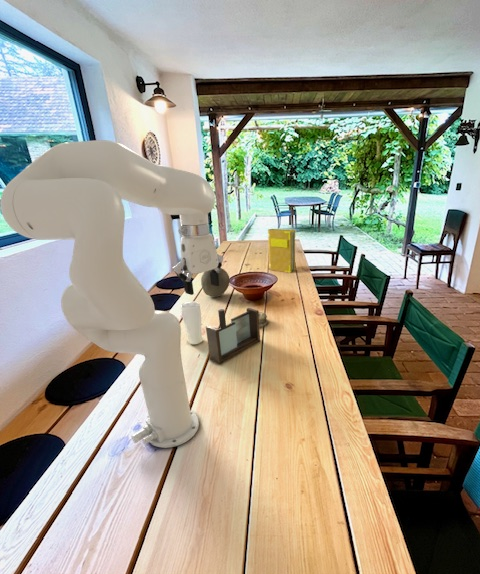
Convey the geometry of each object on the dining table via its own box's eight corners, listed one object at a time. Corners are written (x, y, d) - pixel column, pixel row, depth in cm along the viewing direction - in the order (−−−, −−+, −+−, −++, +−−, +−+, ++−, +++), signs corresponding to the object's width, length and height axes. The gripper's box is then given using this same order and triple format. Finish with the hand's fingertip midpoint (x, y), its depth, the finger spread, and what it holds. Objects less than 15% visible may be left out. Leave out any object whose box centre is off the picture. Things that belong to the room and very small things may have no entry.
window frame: (219, 364, 106) (215, 330, 101) (209, 359, 109) (205, 326, 104) (260, 341, 120) (258, 310, 115) (250, 337, 123) (248, 307, 118)
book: (295, 270, 205) (295, 229, 195) (290, 272, 200) (290, 231, 190) (272, 267, 214) (271, 228, 203) (267, 269, 209) (265, 230, 198)
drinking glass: (200, 346, 118) (195, 308, 112) (183, 345, 119) (177, 308, 113) (207, 338, 124) (202, 301, 118) (190, 337, 125) (185, 301, 119)
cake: (271, 321, 137) (272, 309, 135) (260, 331, 129) (260, 319, 127) (251, 315, 141) (251, 304, 138) (239, 325, 133) (239, 313, 131)
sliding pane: (220, 358, 107) (215, 314, 100) (216, 356, 108) (211, 312, 102) (238, 348, 113) (235, 306, 106) (234, 347, 114) (231, 304, 107)
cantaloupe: (218, 302, 158) (215, 273, 152) (197, 298, 165) (193, 269, 159) (235, 293, 169) (233, 265, 163) (215, 290, 176) (212, 263, 170)
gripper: (177, 236, 81) (186, 300, 88) (227, 227, 93) (232, 284, 100) (160, 234, 86) (170, 295, 92) (210, 226, 97) (216, 280, 104)
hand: (202, 289), depth 96 cm, fingers open, 9 cm apart
